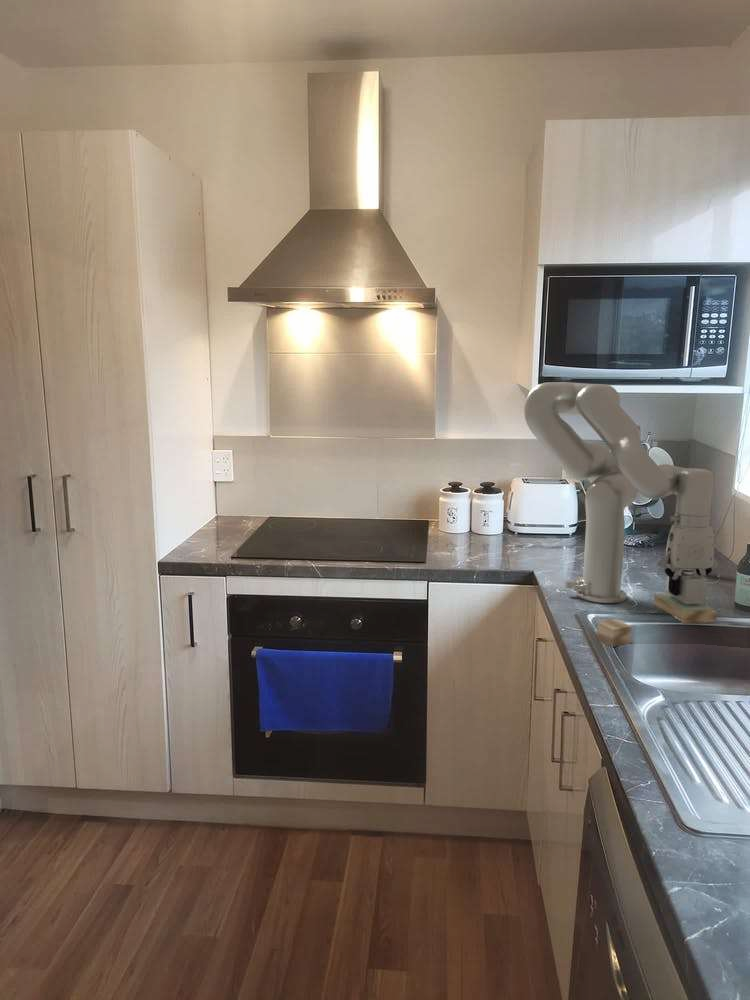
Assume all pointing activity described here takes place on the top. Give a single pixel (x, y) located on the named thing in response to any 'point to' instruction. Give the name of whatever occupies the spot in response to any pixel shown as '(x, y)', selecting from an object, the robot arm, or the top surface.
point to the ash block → (614, 632)
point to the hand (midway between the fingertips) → (685, 593)
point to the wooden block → (685, 609)
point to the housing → (690, 587)
